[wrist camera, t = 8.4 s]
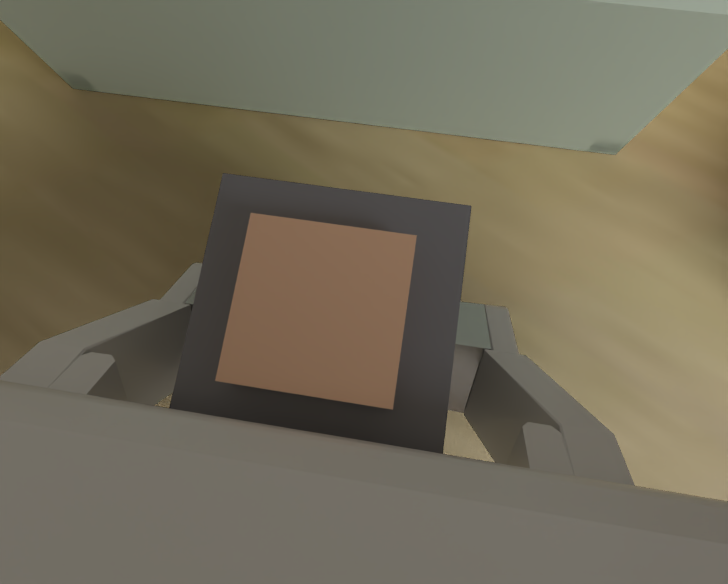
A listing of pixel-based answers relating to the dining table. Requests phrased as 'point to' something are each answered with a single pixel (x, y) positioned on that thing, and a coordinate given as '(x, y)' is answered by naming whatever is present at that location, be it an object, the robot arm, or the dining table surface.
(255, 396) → the grey block pink top
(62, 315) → the dining table surface
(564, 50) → the sage walled box
